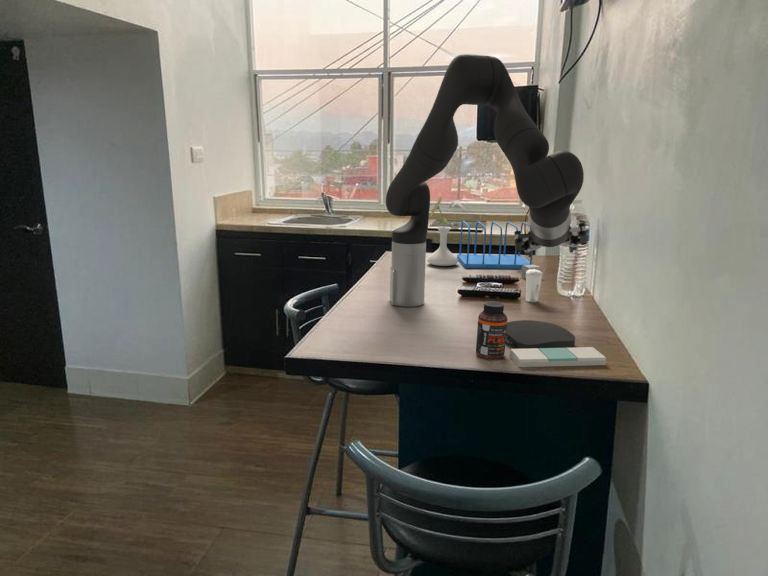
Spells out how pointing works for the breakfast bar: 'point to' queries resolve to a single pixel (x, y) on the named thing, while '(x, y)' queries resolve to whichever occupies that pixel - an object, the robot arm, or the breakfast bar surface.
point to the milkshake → (533, 284)
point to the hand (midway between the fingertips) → (550, 250)
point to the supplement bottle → (491, 331)
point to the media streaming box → (537, 335)
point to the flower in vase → (442, 243)
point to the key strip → (557, 357)
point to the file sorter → (490, 260)
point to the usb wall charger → (527, 267)
